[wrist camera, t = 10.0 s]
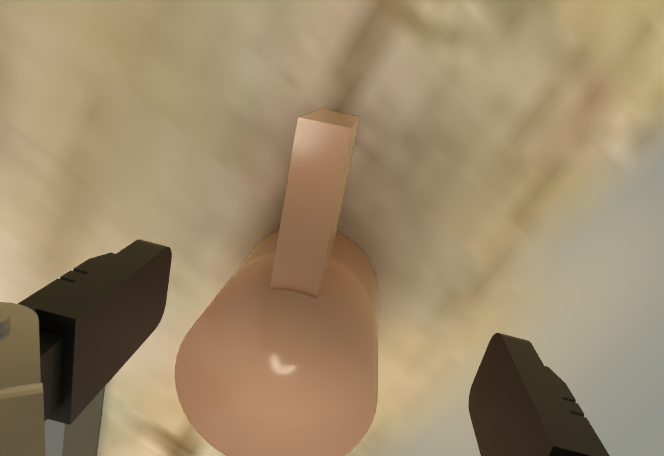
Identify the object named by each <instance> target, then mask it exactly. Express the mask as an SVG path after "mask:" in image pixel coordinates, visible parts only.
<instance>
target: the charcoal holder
mask: <svg viewBox="0 0 664 456" xmlns="http://www.w3.org/2000/svg"><path fill="white" fill-rule="evenodd" d="M104 388H105V386H104ZM104 388H103V389H102V390H101V391H100V392H99V393H98V394H97V395H96V397H95V398H94V399H93V400H92V401H91V402H90V403H89V404H88V406H87V407H86V408H85V409H84V410H83V411H82V412H81V414H80V415H79V416H78V417H77V418H76V419H75V420H74V421H73V423H72V424H71V425H68V424H64V423H61V422H57V421H53V420H49V419H47V420H46V421H45V422H44V425H45V451H46V456H96V454H97V446H98V438H99V429H100V421H101V413H102V404H103V396H104Z"/></svg>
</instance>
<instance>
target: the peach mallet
mask: <svg viewBox="0 0 664 456" xmlns="http://www.w3.org/2000/svg"><path fill="white" fill-rule="evenodd" d="M359 119H360V117H359V116H354V115H349V114H344V113H339V112H334V111H329V110H324V109H321V110H318V111H315V112H312V113H309V114H306V115H303V116H300V117H298V118H297V125H296V131H295V137H294V143H293V149H292V155H291V161H290V167H289V173H288V179H287V185H286V192H285V198H284V204H283V210H282V216H281V222H280V228H279V230H278V231H276V232H274V233H272V234H270V235H269V236H267V237H266V238H264V239H263V240H262V241H261V242H260V243H259V244H258V245H257V246H256V247H255V248H254V249H253V251H252V252H251V253H250V254H249V256H248V257H247V258H246V259H245V261H244V262H243V263H242V264H241V266H240V267H239V268H238V269H237V271H236V272H235V273H234V275H233V276H232V277H231V278H230V280H229V281H228V282H227V283H226V285H225V286H224V287H223V288H222V290H221V291H220V292H219V293H218V295H217V296H216V297H215V298H214V300H213V301H212V302H211V304H210V305H209V306H208V307H207V309H206V310H205V311H204V312H203V314H202V315H201V316H200V317H199V319H198V320H197V321H196V322H195V324H194V325H193V326H192V328H191V329H190V330H189V332H188V333H187V334H186V336H185V338H184V340H183V342H182V344H181V346H180V349H179V352H178V354H177V359H176V365H175V383H176V390H177V394H178V398H179V401H180V404H181V406H182V408H183V411H184V413H185V414H186V416H187V418H188V420H189V421H190V423H191V424H192V425H193V427H194V428H195V429H196V431H197V432H198V433H199V434H200V435H201V436H202V437H203V438H204V439H205V440H206V441H207V442H208V443H209V444H210V445H212V446H213V447H214V448H215V449H217V450H218V451H220V452H221V453H223V454H224V455H226V456H344V455H346V454H347V453H348V452H350V451H351V450H352V449H353V448H354V447H355V446H356V445H357V444H358V443H359V442H360V441H361V439H362V438H363V437H364V435H365V434H366V433H367V431H368V429H369V427H370V425H371V423H372V420H373V418H374V415H375V411H376V406H377V396H378V282H377V278H376V274H375V271H374V269H373V266H372V264H371V262H370V261H369V259H368V257H367V256H366V254H365V253H364V252H363V251H362V249H361V248H360V247H359V246H358V245H357V244H356V243H354V242H353V241H352V240H350V239H349V238H348V237H346V236H344V235H343V234H341V233H339V232H337V226H338V221H339V216H340V211H341V207H342V202H343V197H344V192H345V187H346V182H347V177H348V172H349V168H350V163H351V158H352V153H353V148H354V143H355V138H356V133H357V128H358V124H359Z"/></svg>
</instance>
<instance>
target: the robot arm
mask: <svg viewBox="0 0 664 456" xmlns="http://www.w3.org/2000/svg"><path fill="white" fill-rule="evenodd" d="M171 257H172V253H171V249H170V248H169V247H167V246H163V245H159V244H155V243H151V242H147V241H143V240H136V241H135V242H133V243H132V244H130V245H129V246H127V247H126V248H124V249H123V250H121V251H120V252H118V253H117V254H113V253H108V254H105V255H101V256H98V257H94V258H91V259H88V260H87V261H85V262H83V263H82V264H80V265H79V266H77V267H76V268H74V270H73V271H69V272H68V273H66V274H64V275H63V276H61V278H60V279H56V280H55V281H53V282H52V283H50V284H48V285H47V286H45V287H44V288H42V289H40V290H39V291H37V292H36V293H34V294H33V295H31V296H29V297H28V298H26V299H25V300H23V301H21V302H20V303H18V304H15V303H5V302H0V456H46V451H45V425H44V422H45V421H46V420H47V419H49V420H53V421H57V422H61V423H64V424H68V425H71V424H72V423H73V421H74V420H75V419H76V418H77V417H78V416H79V415H80V414H81V412H82V411H83V410H84V409H85V408H86V407H87V406H88V404H89V403H90V402H91V401H92V400H93V399H94V398H95V397H96V395H97V394H98V393H99V392H100V391H101V390H102V389H103V388H104V386H105V385H106V384H107V383H108V382H109V381H110V380H111V379H112V377H113V376H114V375H115V374H116V373H117V372H118V371H119V370H120V368H121V367H122V366H123V365H124V364H125V363H126V362H127V361H128V359H129V358H130V357H131V356H132V355H133V354H134V353H135V351H136V350H137V349H138V348H139V347H140V346H141V345H142V344H143V342H144V341H145V340H146V339H147V338H148V337H149V336H150V335H151V333H152V332H153V331H154V330H155V329H156V327H157V326H158V324H159V322H160V320H161V318H162V316H163V313H164V309H165V305H166V298H167V290H168V282H169V274H170V266H171ZM575 401H576V400H575V398H574V396H573V395H572V393H571V392H570V390H569V389H568V387H567V385H566V384H565V382H563V381H562V380H561V379H560V378H559V377H558V376H557V375H556V374H555V373H554V372H553V371H552V370H551V369H550V368H549V367H546V366H544V365H543V363H542V361H541V360H540V358H539V356H538V354H537V353H536V351H535V349H534V347H533V345H532V344H531V343H530V342H529V341H527V340H523V339H520V338H516V337H512V336H508V335H504V334H500V333H496V334H494V335H493V337H492V338H491V340H490V342H489V344H488V347H487V349H486V352H485V354H484V357H483V359H482V362H481V364H480V366H479V369H478V371H477V374H476V376H475V379H474V381H473V384H472V386H471V390H470V395H469V413H470V417H471V420H472V424H473V428H474V431H475V435H476V439H477V443H478V447H479V450H480V454H481V456H609V454H608V453H607V451H606V449H605V448H604V446H603V444H602V443H601V441H600V439H599V438H598V436H597V434H596V433H595V431H594V429H593V428H592V426H591V425H590V423H589V421H588V420H587V418H585V417H584V413H583V411H582V410H581V408H580V406H579V405H578V404H577V403H575Z"/></svg>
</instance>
